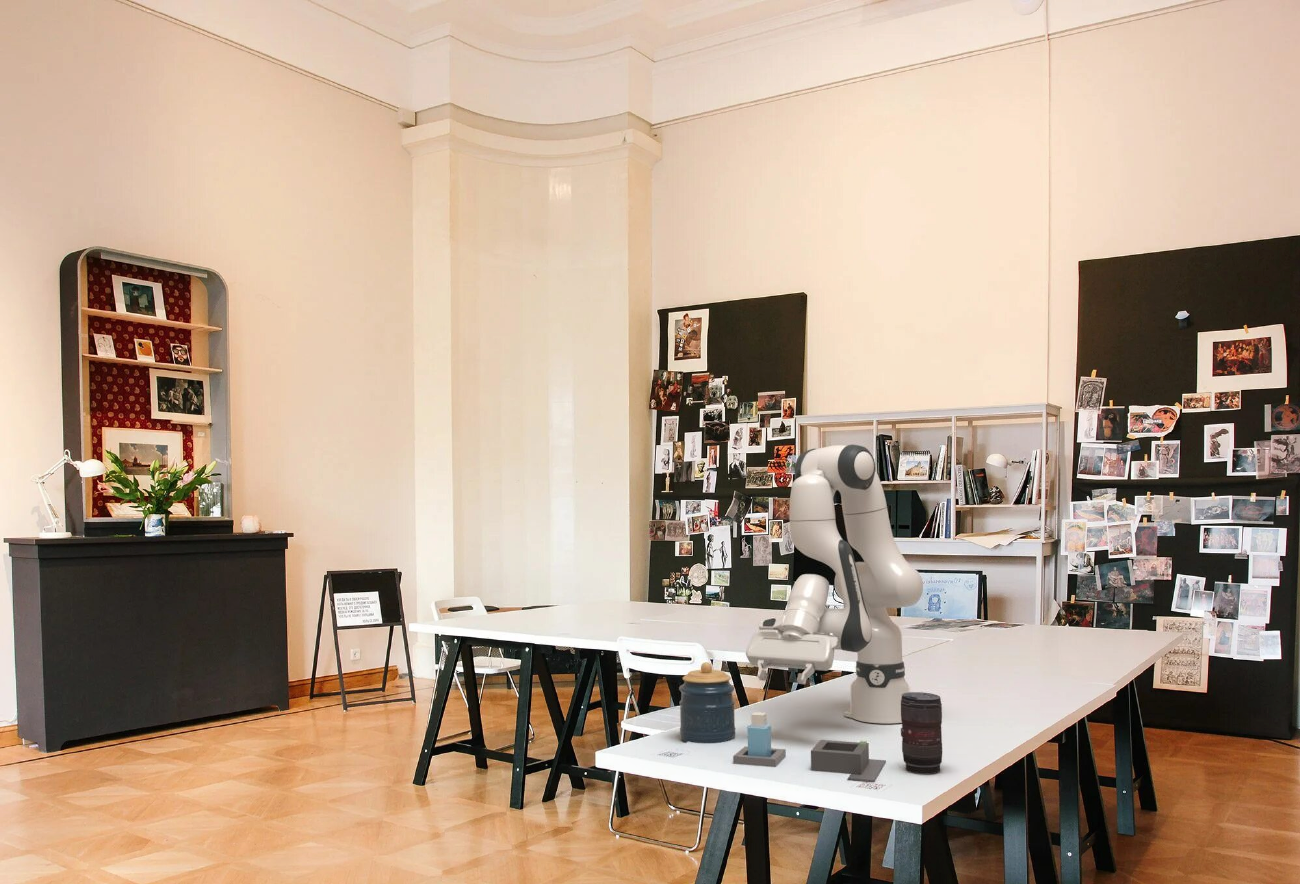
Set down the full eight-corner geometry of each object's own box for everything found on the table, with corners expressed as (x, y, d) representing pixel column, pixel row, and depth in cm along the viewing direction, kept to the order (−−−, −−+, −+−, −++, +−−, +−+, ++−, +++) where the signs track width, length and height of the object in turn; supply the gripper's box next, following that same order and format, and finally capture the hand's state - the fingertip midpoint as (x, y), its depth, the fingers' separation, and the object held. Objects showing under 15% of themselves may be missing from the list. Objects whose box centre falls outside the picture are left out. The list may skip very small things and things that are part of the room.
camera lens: (926, 777, 196) (924, 700, 197) (894, 769, 203) (891, 694, 204) (952, 770, 201) (949, 695, 202) (920, 762, 208) (917, 689, 209)
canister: (747, 738, 233) (745, 661, 234) (712, 748, 223) (710, 668, 224) (703, 730, 241) (702, 656, 242) (668, 740, 232) (667, 663, 233)
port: (810, 756, 214) (809, 732, 215) (885, 762, 209) (885, 737, 209) (793, 775, 200) (792, 750, 200) (874, 782, 194) (873, 756, 194)
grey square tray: (745, 755, 216) (744, 746, 216) (785, 758, 213) (785, 749, 213) (733, 765, 208) (733, 756, 208) (775, 769, 204) (775, 759, 205)
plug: (753, 756, 213) (752, 711, 214) (771, 758, 211) (770, 712, 212) (748, 761, 209) (747, 715, 210) (766, 762, 208) (765, 716, 208)
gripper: (843, 642, 227) (829, 693, 218) (761, 637, 238) (744, 685, 229) (836, 624, 223) (821, 675, 215) (753, 620, 234) (735, 668, 225)
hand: (780, 680), depth 222 cm, fingers open, 8 cm apart
